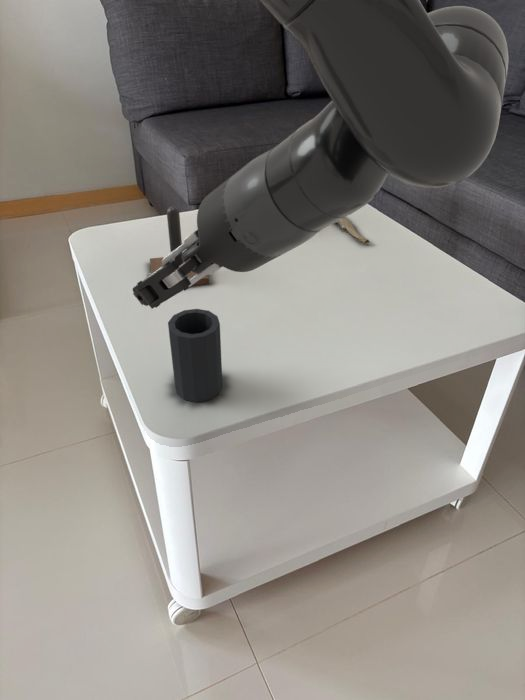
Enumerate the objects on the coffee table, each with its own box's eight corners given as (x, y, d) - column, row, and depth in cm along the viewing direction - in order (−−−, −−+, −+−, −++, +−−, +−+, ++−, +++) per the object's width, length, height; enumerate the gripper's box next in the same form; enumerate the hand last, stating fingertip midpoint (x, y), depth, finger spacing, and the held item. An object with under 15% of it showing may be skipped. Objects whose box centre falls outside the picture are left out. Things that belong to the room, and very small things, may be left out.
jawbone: (310, 206, 119) (311, 197, 118) (391, 235, 109) (393, 225, 108) (284, 215, 114) (285, 205, 112) (366, 247, 103) (368, 237, 102)
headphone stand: (154, 290, 90) (146, 220, 82) (150, 264, 97) (141, 198, 89) (208, 284, 91) (204, 215, 84) (200, 259, 98) (196, 194, 91)
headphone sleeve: (178, 405, 68) (171, 340, 62) (173, 375, 72) (165, 312, 66) (225, 397, 69) (223, 333, 63) (217, 368, 74) (214, 306, 68)
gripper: (282, 139, 47) (187, 213, 60) (180, 212, 39) (94, 281, 51) (329, 211, 49) (228, 268, 62) (242, 295, 41) (145, 342, 53)
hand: (167, 274), depth 56 cm, fingers open, 8 cm apart
